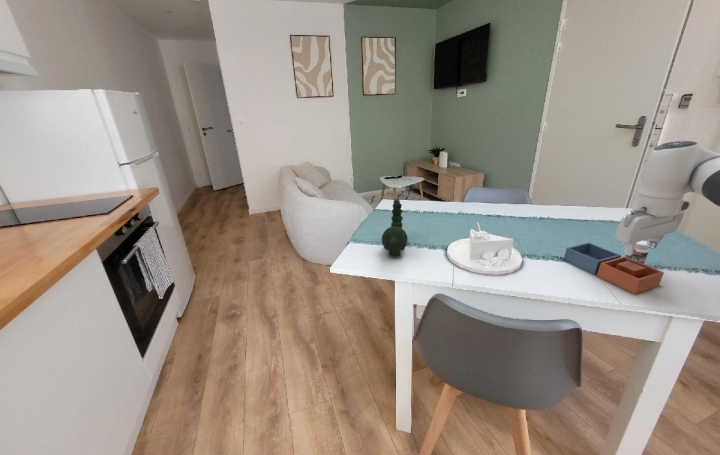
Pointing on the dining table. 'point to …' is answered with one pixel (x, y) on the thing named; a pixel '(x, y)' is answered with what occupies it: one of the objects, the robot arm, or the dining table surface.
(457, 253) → the dish
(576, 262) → the blue bin
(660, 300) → the dining table surface
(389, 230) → the green topiary ornament
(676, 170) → the robot arm
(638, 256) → the pill bottle
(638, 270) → the block
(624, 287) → the terracotta bin
